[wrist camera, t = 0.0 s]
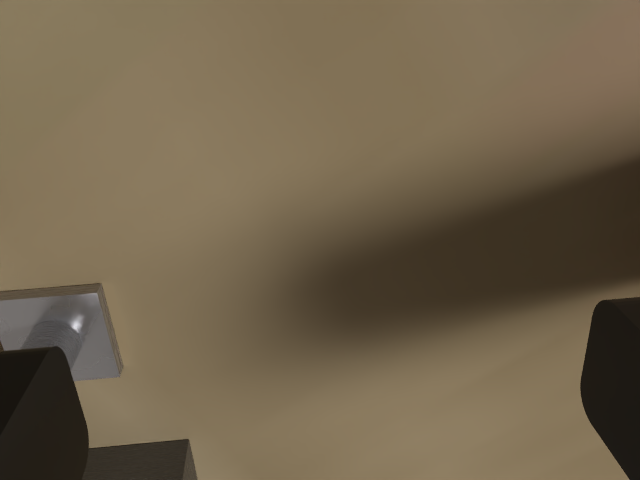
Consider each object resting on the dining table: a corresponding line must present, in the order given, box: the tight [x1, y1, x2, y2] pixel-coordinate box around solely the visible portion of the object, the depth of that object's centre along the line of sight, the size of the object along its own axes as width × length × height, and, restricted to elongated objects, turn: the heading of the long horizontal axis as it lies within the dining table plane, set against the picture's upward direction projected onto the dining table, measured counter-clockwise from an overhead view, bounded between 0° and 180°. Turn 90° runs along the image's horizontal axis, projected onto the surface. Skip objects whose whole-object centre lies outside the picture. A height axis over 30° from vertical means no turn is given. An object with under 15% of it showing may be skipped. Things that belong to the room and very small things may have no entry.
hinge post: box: [0, 284, 123, 381], centre depth 23 cm, size 5×5×12 cm
